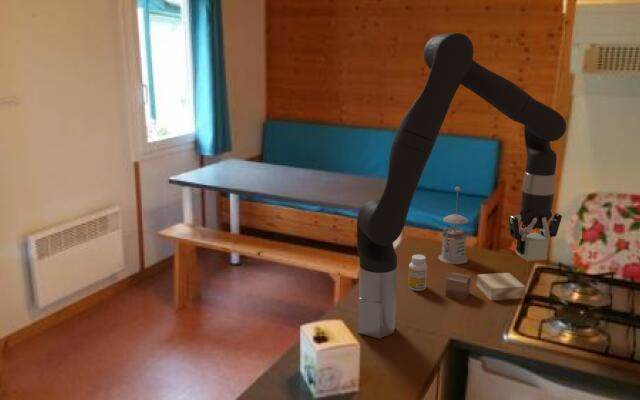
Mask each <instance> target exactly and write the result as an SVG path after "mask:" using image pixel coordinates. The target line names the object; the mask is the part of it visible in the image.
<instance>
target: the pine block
mask: <svg viewBox="0 0 640 400" xmlns="http://www.w3.org/2000/svg"><path fill="white" fill-rule="evenodd" d="M475 286H476V287H477V289H479V290H480V292H481V293H482V294H484V296H486V298H487V299H489V300H490V301H503V300H516V299H517V300H518V299H522V298H521V297H522V296H523V295H524V296H525V293H526V292H525V291H526V286H525V285H524V284H523V283H522V282H521V281H519V280H518V279H517V278H516V277H515V276H514V275H513V274H511V272H497V273H480V274H477V275H476V285H475Z"/></svg>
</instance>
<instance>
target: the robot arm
mask: <svg viewBox="0 0 640 400" xmlns="http://www.w3.org/2000/svg"><path fill="white" fill-rule="evenodd" d="M473 57H474V46H473V42H472V40H471V39H470V37H469V36H467V35H466V34H464V33H460V32H450V33H448V32H447V33H446V32H445V33H440V34H437V35H435V36H433V37H431V38H430V39H429V40H428V41H427V42H426V43H425V46H424V49H423V59H424V60H423V61H424V62H425V64H426V66H427V67H428V69H429V70H430V71H429V74H428V77H427V79H426V83H425V85H424V86H423V89H422V91H421V92H420V94H419V95H418V96H417V98H416V99H415V101H414V102H413V103H412V105H411V106H410V107H409V109H408V110H407V112H406V113H405V115H404V116H403V118H402V119H401V121H400V123H399V125H398V128H397V131H396V133H395V135H394V138H393V141H392V143H391V147H390V151H389V156H388V157H389V158H388V159H389V160H388V168H387V169H388V170H387V179H386V183H385V188H384V190H383V192H382V195H381V196H380V199H372V200H370V201H367V202H366V203H365V204H363V205H362V206H361V207H360V210H359V211H358V214H357V219H356V242H357V243H356V248H357V255H358V258H359V268H358V269H359V274H358V275H359V277H358V278H359V279H358V280H359V281H358V309H357V310H358V311H357V312H358V313H357V314H358V315H357V317H358V318H357V319H358V320H357V333H358V334H360V335H366V336H369V337H373V338H376V339H382V338H384V337H387V336H390V335H391V334H393V333H394V332H395V328H396V326H395V325H396V305H397V304H396V302H397V301H396V299H397V278H398V277H397V273H398V271H397V270H398V257H397V253H396V251H395V248H394V247H395V246H394V242H395V241H397V240H398V238H399V237H400V236H401V234H402V233H403V230H404V227H405V224H406V221H407V218H408V215H409V214H408V213H409V210H410V208H411V207H410V206H411V203H412V201H413V197H414V194H415V192H416V189H417V187H418V184H419V183H420V180H421V179H422V178H421V177H422V175H423V172H424V169H425V168H426V165H427V162H428V160H429V158H430V156H431V154H432V152H433V149H434V147H435V144H436V142H437V139H438V136H439V133H440V132H441V128H442V126H443V124H444V121H445V119H446V116H447V114H448V112H449V108H450V107H451V104H452V101H453V100H454V97H455V95H456V93H457V91H458V89H459V87H460V85H461V86H462V87H465V88H466V89H468V90H470V91H471V92H472V93H474V94H475V95H477V96H478V97H480V98H481V99H482V100H484V101H485V102H487V103H488V104H489V105H491V106H492V107H493V108H494V109H496V110H497V111H499V113H502V114H503V115H505V116H506V117H507V118H509V119H510V120H512V121H513V122H516V123H519V124H521V125H523V126H524V127H523V128H524V129H523V132H524V133H523V135H524V143H525V150H526V159H525V160H526V163H525V169H524V170H525V171H524V177H523V180H522V181H523V182H522V191H521V199H520V200H521V201H520V207H521V210H520V212H519V214H516V215H513V214H510V215H509V216H508V224H509V235H510V236H511V238H513V239H515V240H516V246H515V248H516V250H517V251H518V253H520V254H521V255H522V254H524V251H525V239H526V237H527V235H528V234H530V233H532V230H536V229H537V230H538V231H539V234H540V235H542V236H544V237H545V238H547V239H549V240H550V239H551V238H555V237H557V235H558V231H559V227H560V225H561V221H562V218H563V216H562V215H561V214H560V213H558V212H552V209H553V204H554V195H555V186H556V168H557V156H558V155H557V153H556V152H555V150H553V148H552V147H551V142H555V141H558V140H560V139H561V138H562V137H564V135H565V133H566V131H567V123H566V120H565V118H564V116H563V115H562V114H561V113H560V112H558V111H556V110H555V109H553V108H551V107H549V106H548V105H546V104H544V103H542V102H541V101H538V100H537V99H536V98H534V97H532V95H531V94H529V93H527V92H526V91H525V90H523V89H522V88H521V87H520V86H518V85H517V84H515V83H514V82H512V81H511V80H509V79H507V78H505V77H503V76H502V75H499V74H497V73H495V72H493V71H491V70H490V69H488V68H486V67H485V66H484V65H483V66H482V65H481V64H479V63H478V62H477V61H475V60H474V59H473ZM520 221H521V222H520ZM548 222H549V224H548ZM516 250H515V251H516Z"/></svg>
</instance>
